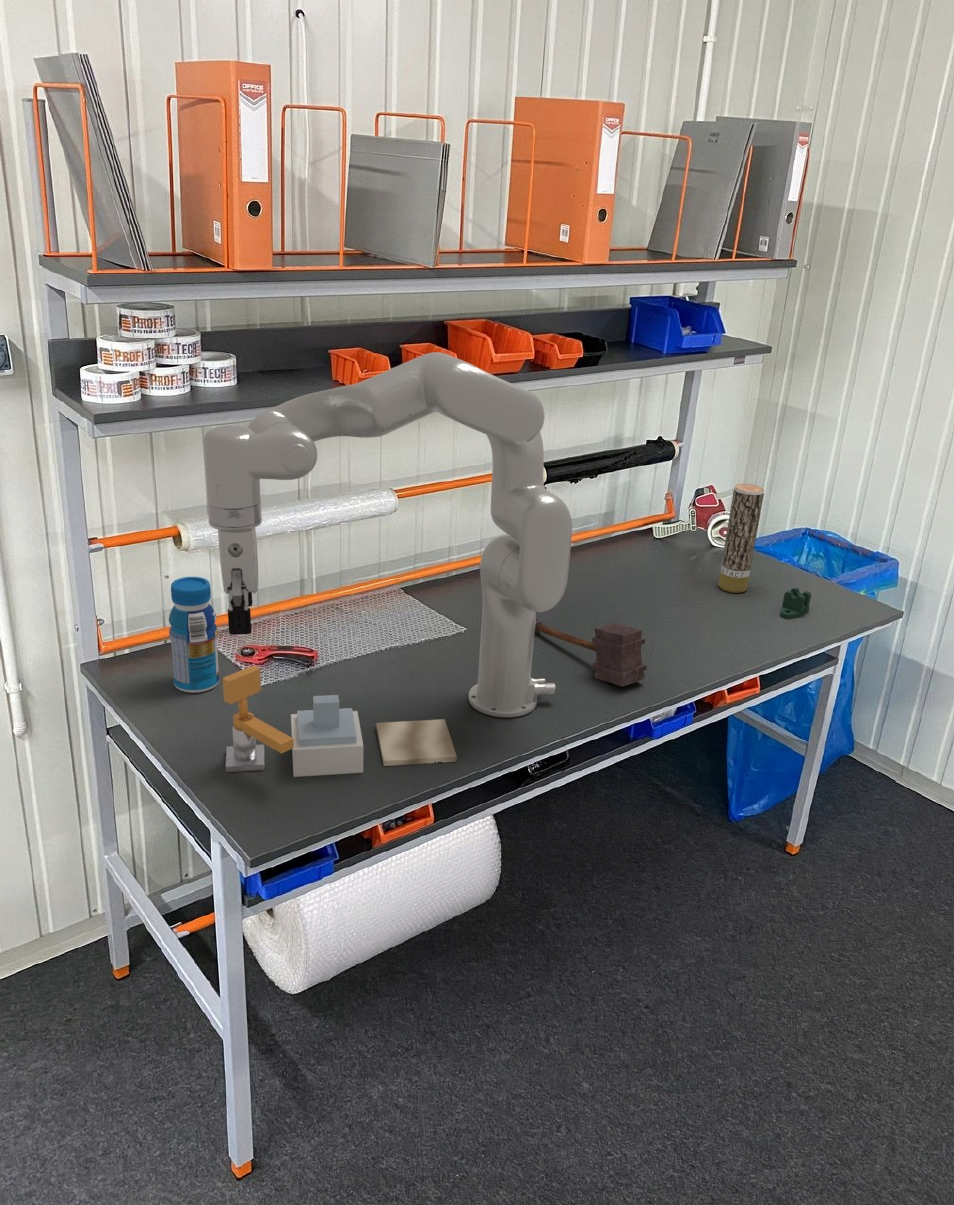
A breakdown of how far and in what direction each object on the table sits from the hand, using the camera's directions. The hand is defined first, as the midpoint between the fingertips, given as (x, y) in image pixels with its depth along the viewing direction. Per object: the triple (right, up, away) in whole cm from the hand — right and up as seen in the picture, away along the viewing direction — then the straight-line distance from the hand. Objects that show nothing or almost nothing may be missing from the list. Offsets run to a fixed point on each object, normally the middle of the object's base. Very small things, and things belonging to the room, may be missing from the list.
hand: (241, 619), depth 154 cm
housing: (+11, -23, +13) cm, 28 cm away
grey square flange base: (-2, -23, +10) cm, 25 cm away
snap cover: (+11, -18, +11) cm, 24 cm away
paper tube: (+97, +6, +89) cm, 132 cm away
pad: (+25, -21, +17) cm, 37 cm away
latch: (+2, -18, +5) cm, 19 cm away
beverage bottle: (-16, -12, +32) cm, 38 cm away
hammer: (+56, -9, +52) cm, 76 cm away
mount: (+108, 0, +78) cm, 134 cm away
